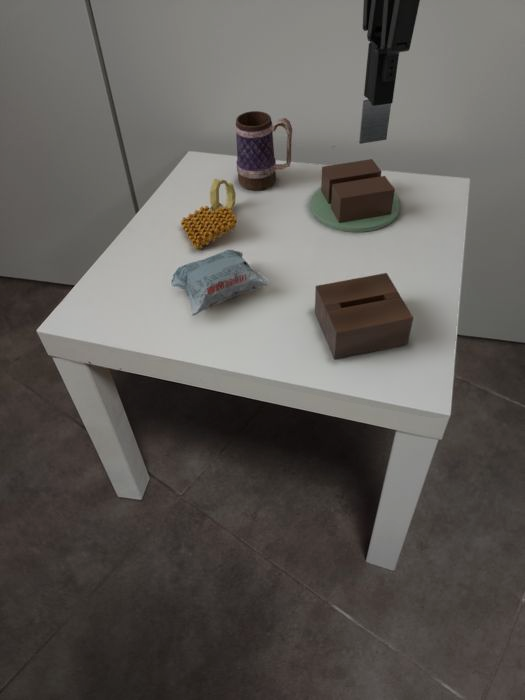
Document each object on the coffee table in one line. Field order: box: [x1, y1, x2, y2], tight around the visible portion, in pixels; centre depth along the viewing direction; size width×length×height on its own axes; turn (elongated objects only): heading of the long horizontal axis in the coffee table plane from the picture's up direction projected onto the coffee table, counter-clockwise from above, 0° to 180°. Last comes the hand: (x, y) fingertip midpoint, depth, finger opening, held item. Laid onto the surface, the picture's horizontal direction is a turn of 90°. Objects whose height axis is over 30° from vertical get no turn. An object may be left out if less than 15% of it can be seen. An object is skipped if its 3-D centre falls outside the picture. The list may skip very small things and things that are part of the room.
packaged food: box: [171, 249, 270, 317], centre depth 78 cm, size 9×12×5 cm
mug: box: [235, 110, 293, 191], centre depth 95 cm, size 10×7×12 cm
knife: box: [358, 40, 392, 145], centre depth 72 cm, size 2×4×13 cm, turn 103°
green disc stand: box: [310, 158, 401, 233], centre depth 91 cm, size 15×15×5 cm
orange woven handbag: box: [180, 178, 238, 250], centre depth 89 cm, size 7×10×15 cm
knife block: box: [314, 272, 414, 360], centre depth 71 cm, size 9×10×5 cm
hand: (377, 98), depth 73 cm, fingers closed on knife, 2 cm apart
